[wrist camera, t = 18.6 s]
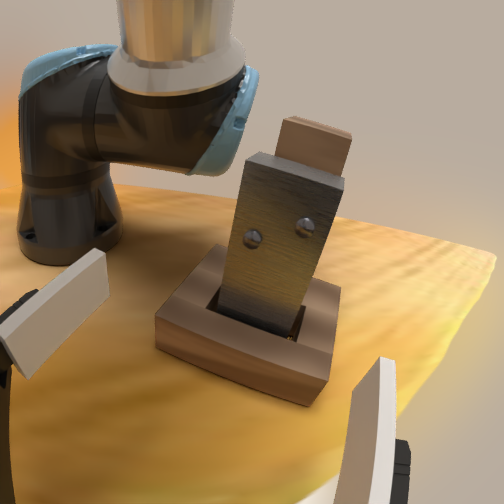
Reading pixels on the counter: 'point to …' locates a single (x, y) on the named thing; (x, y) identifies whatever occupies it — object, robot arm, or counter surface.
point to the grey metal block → (276, 241)
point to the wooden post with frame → (247, 337)
